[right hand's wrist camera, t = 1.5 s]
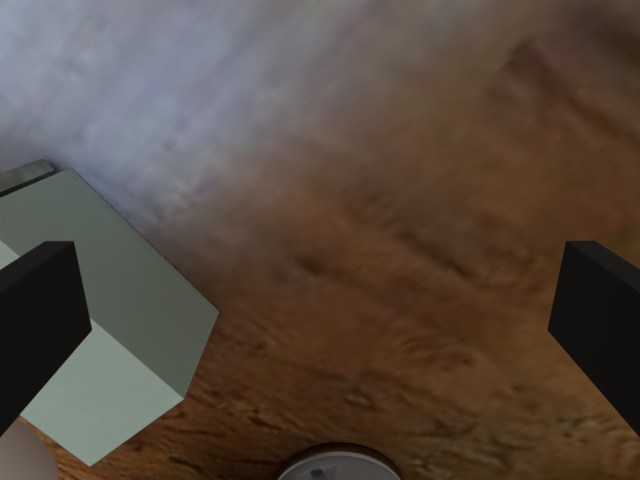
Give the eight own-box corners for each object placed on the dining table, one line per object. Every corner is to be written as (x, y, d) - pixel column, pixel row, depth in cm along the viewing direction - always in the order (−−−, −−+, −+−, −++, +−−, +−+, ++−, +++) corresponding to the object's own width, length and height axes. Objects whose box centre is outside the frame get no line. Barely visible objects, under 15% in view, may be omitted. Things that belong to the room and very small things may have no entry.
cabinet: (-3, 238, 40) (-126, 306, 29) (70, 167, 38) (-33, 211, 27) (146, 367, 45) (89, 467, 34) (219, 311, 43) (184, 399, 32)
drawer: (-80, 175, 37) (-212, 214, 28) (-14, 104, 35) (-134, 119, 26) (123, 350, 43) (69, 429, 34) (189, 298, 41) (151, 367, 32)
